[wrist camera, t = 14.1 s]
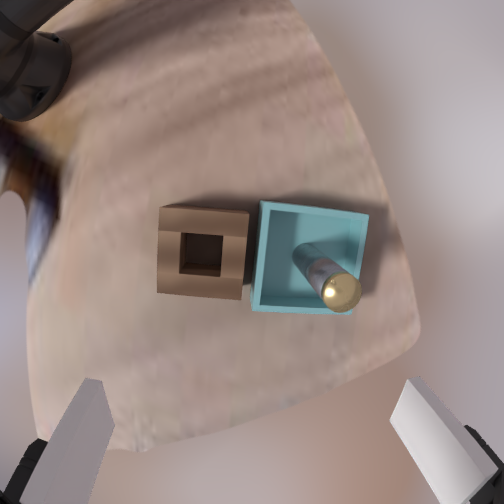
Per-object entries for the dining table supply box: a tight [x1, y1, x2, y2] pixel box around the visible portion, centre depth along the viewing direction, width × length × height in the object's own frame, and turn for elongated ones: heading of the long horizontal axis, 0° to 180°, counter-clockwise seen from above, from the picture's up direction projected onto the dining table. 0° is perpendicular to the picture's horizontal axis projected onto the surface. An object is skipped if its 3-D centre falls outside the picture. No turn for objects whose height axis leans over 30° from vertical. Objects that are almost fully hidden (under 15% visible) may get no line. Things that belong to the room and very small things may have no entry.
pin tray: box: [250, 200, 369, 314], centre depth 37 cm, size 13×13×4 cm
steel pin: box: [292, 243, 362, 313], centre depth 31 cm, size 4×4×14 cm
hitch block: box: [157, 205, 249, 300], centre depth 35 cm, size 10×10×5 cm
